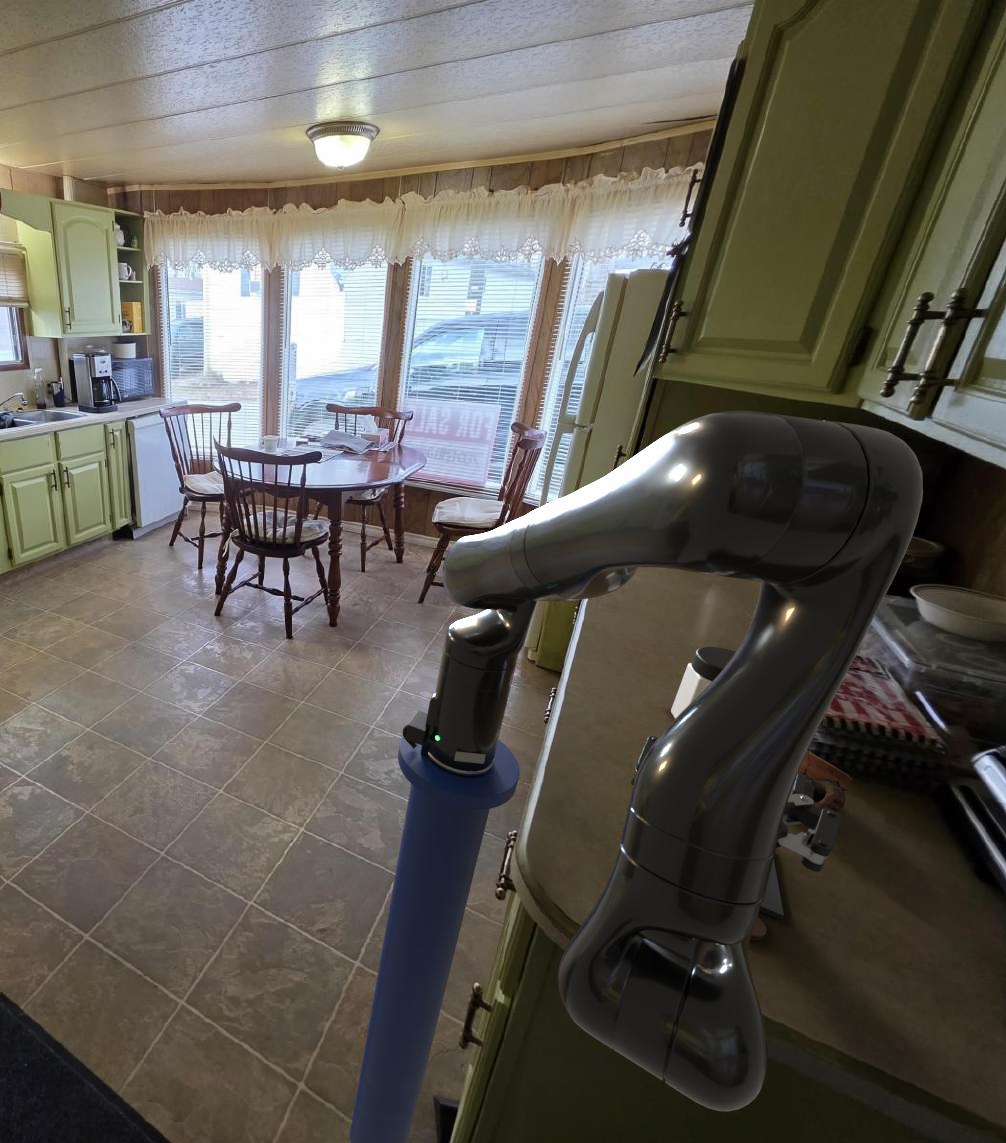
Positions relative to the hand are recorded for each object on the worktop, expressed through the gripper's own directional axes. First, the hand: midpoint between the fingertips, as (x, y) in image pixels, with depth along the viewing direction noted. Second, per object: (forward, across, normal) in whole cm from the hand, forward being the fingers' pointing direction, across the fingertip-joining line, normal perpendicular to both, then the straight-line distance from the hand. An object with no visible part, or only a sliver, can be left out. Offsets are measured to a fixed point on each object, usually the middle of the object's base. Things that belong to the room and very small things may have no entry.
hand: (741, 758), depth 59 cm
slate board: (+10, -1, +20) cm, 22 cm away
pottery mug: (+29, -8, +20) cm, 36 cm away
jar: (+40, +4, +20) cm, 45 cm away
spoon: (0, -1, +20) cm, 20 cm away
